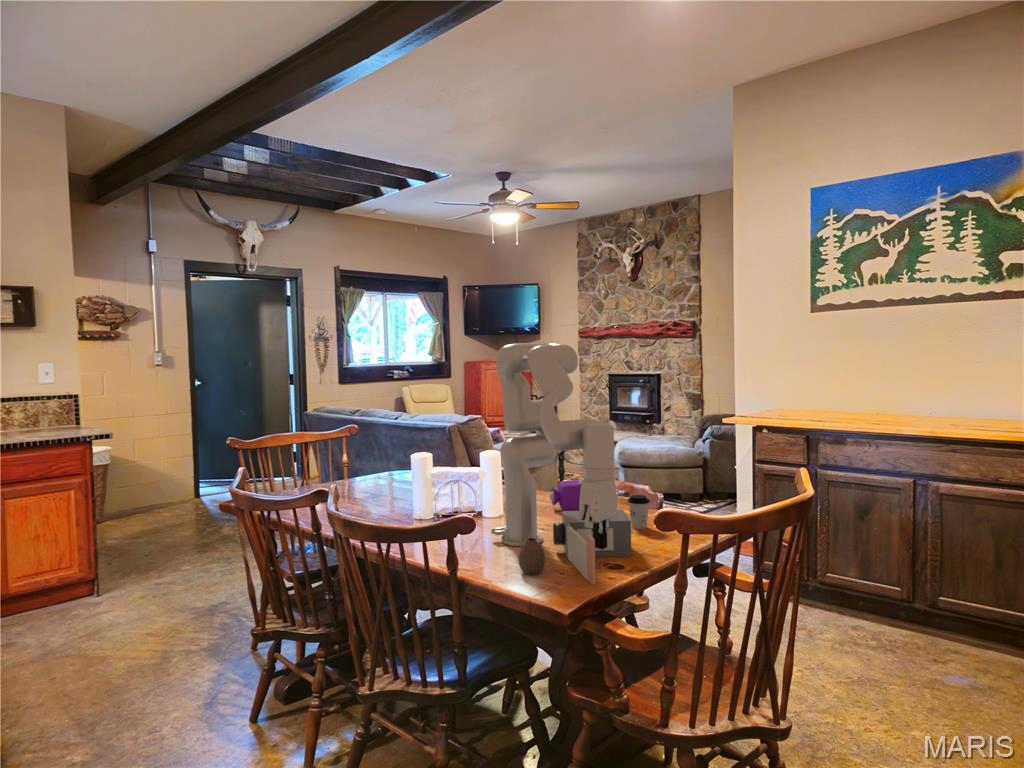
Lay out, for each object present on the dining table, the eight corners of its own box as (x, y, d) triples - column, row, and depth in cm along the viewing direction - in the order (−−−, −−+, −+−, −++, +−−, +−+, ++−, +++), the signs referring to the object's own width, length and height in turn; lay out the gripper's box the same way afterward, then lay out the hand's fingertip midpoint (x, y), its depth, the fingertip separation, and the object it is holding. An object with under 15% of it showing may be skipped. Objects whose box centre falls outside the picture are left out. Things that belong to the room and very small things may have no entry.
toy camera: (546, 507, 224) (545, 480, 224) (580, 503, 229) (579, 477, 228) (556, 514, 214) (556, 486, 214) (592, 510, 218) (591, 482, 218)
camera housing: (555, 558, 168) (554, 519, 168) (552, 544, 180) (551, 508, 180) (631, 556, 168) (631, 517, 168) (623, 542, 180) (622, 506, 180)
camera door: (566, 558, 168) (565, 515, 167) (570, 558, 168) (569, 515, 168) (591, 588, 146) (590, 539, 146) (596, 588, 147) (595, 539, 146)
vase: (517, 568, 162) (516, 535, 161) (543, 567, 162) (542, 534, 162) (519, 578, 155) (518, 544, 154) (546, 576, 155) (545, 542, 155)
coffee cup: (649, 524, 198) (649, 494, 198) (650, 530, 191) (650, 499, 191) (628, 524, 200) (627, 493, 199) (628, 530, 193) (627, 499, 192)
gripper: (604, 467, 156) (605, 537, 157) (567, 476, 146) (568, 551, 147) (629, 470, 151) (630, 543, 152) (592, 481, 140) (594, 558, 141)
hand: (600, 547), depth 149 cm, fingers closed
